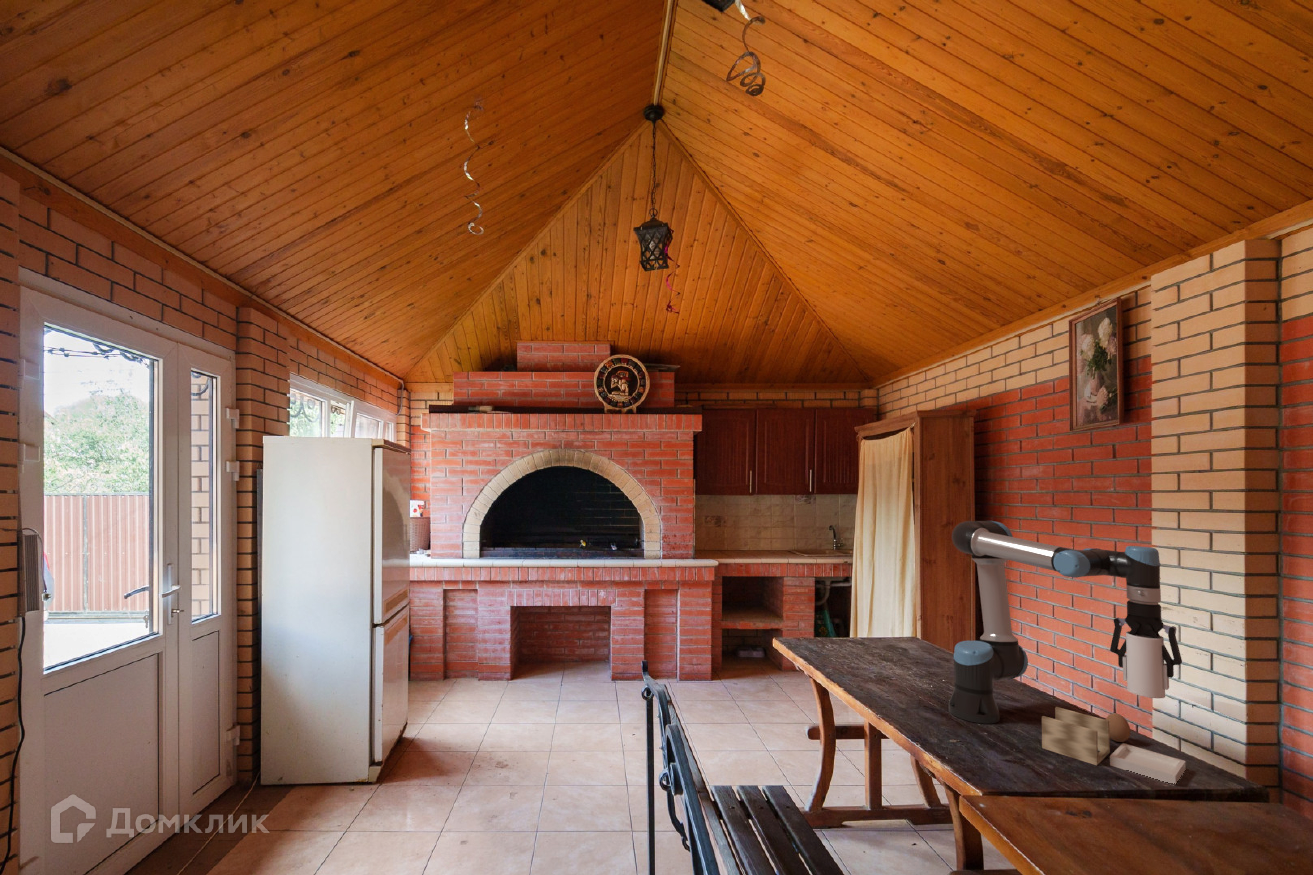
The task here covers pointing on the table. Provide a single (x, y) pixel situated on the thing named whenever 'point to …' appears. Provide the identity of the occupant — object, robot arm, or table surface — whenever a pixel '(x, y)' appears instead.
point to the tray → (1148, 763)
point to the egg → (1118, 727)
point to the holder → (1076, 735)
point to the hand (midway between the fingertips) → (1145, 683)
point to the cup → (1145, 665)
